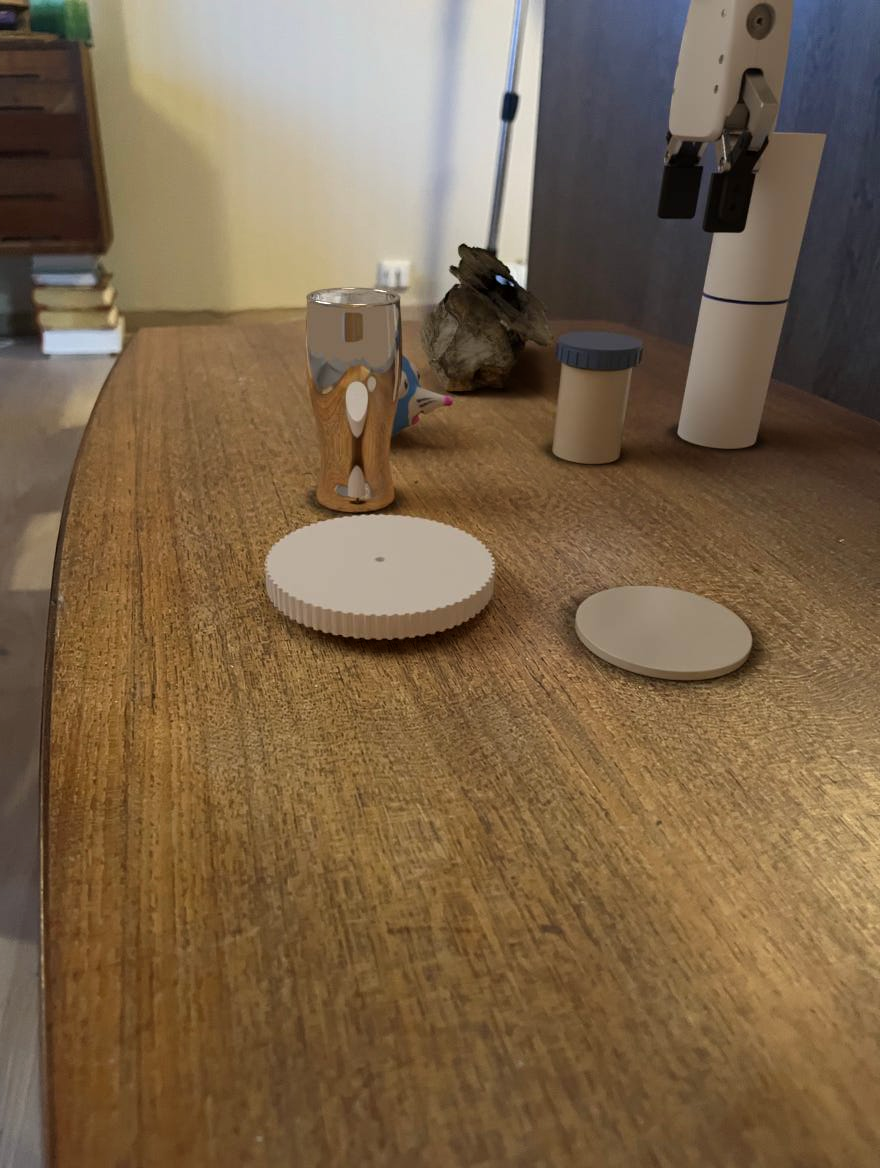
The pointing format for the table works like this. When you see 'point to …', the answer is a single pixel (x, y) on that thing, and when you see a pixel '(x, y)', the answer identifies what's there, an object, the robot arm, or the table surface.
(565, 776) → the table surface
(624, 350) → the lid
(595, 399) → the jar
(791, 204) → the cylindrical container
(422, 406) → the blue toy animal
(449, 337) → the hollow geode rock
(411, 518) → the plastic lid
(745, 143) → the robot arm
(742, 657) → the coaster
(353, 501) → the beer glass
